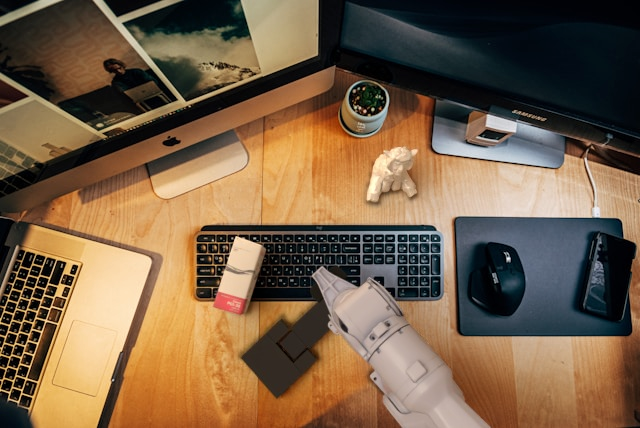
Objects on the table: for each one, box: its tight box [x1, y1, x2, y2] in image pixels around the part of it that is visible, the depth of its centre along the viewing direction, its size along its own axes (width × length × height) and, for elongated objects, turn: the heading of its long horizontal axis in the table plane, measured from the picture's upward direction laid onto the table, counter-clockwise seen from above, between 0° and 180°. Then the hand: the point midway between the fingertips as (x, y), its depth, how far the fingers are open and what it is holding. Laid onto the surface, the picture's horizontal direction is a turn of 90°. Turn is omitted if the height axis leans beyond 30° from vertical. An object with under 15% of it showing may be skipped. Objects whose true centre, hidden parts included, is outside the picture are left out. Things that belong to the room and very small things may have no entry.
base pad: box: [240, 318, 318, 400], centre depth 75 cm, size 9×9×3 cm
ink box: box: [212, 236, 267, 316], centre depth 74 cm, size 9×5×12 cm
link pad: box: [279, 299, 332, 360], centre depth 76 cm, size 5×11×3 cm, turn 133°
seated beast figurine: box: [365, 146, 419, 203], centre depth 76 cm, size 10×9×12 cm
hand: (346, 306), depth 69 cm, fingers open, 7 cm apart
